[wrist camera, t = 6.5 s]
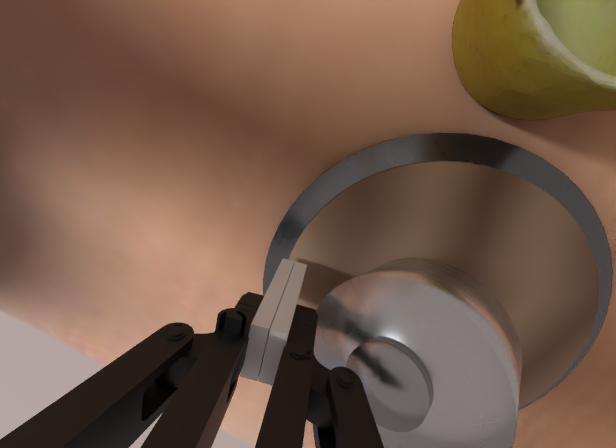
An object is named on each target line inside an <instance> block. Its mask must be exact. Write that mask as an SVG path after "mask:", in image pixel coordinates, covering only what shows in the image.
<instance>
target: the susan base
mask: <svg viewBox="0 0 616 448" xmlns="http://www.w3.org/2000/svg"><path fill="white" fill-rule="evenodd" d="M427 161H460V162H467V163H473V164H478V165H484V166H489V167H493V168H496V169H499V170H502V171H505V172H508V173H511V174H514V175H516V176H518V177H520V178H522V179H524V180H526V181H529V182H531V183H533V184H535V185H536V186H538V187H539V188H541V189H542V190H543V191H545V192H546V193H548V194H549V195H551V196H552V197H554V198H555V199H556V200H557V201H558V202H559V203H560V204H561V205H562V206H563V207H564V208H565V209H566V210H567V211H568V212H569V213H570V214H571V216H572V217H573V218H574V220H575V221H576V222H577V224H578V225H579V226H580V228H581V229H582V231H583V233H584V235H585V236H586V238H587V240H588V242H589V244H590V246H591V249H592V252H593V255H594V259H595V262H596V265H597V271H598V279H599V301H598V308H597V313H596V317H595V322H594V325H593V327H592V330H591V333H590V335H589V338H588V340H587V342H586V344H585V346H584V347H583V349H582V351H581V353H580V354H579V356H578V358H577V359H576V360H575V361H574V363H573V364H572V365H571V367H570V368H569V369H568V371H567V372H566V373H565V374H564V375H563V376H562V377H561V378H560V379H559V380H558V381H557V382H556V383H555V384H554V385H553V386H551V387H550V388H549V389H548V390H546V391H545V392H544V393H542V394H541V395H540V396H539V397H537V398H535V399H534V400H532V401H531V402H529V403H527V404H526V405H524V406H522V407H520V408H518V410H519V409H521V408H523V407H525V406H527V405H529V404H531V403H532V402H534V401H536V400H537V399H539V398H540V397H542V396H544V395H545V394H546V393H548V392H549V391H550V390H552V389H553V388H554V387H555V386H557V385H558V384H559V383H560V382H562V381H563V380H564V379H565V378H566V377H567V376H568V375H569V374H570V373H571V372H572V371H573V370H574V369H575V368H576V366H577V365H578V364H579V363H580V361H581V360H582V359H583V357H584V356H585V355H586V353H587V352H588V351H589V349H590V348H591V346H592V344H593V342H594V341H595V339H596V337H597V335H598V334H599V332H600V329H601V327H602V324H603V321H604V319H605V316H606V314H607V310H608V306H609V301H610V297H611V292H612V274H613V269H612V261H611V252H610V247H609V244H608V240H607V237H606V234H605V230H604V227H603V225H602V223H601V221H600V219H599V217H598V215H597V213H596V211H595V209H594V208H593V206H592V205H591V204H590V202H589V201H588V199H587V198H586V197H585V195H584V194H583V193H582V191H581V190H580V189H579V188H578V187H577V186H576V185H575V184H574V183H573V182H572V181H571V180H570V179H569V178H568V177H567V176H566V175H565V174H564V173H563V172H561V171H560V170H558V169H557V168H556V167H554V166H553V165H551V164H550V163H548V162H547V161H546V160H544V159H543V158H541V157H539V156H537V155H535V154H533V153H531V152H529V151H527V150H525V149H523V148H521V147H518V146H515V145H512V144H509V143H506V142H503V141H500V140H497V139H494V138H488V137H482V136H477V135H471V134H458V133H431V134H420V135H411V136H406V137H402V138H397V139H393V140H388V141H385V142H382V143H379V144H377V145H374V146H371V147H368V148H366V149H363V150H361V151H359V152H357V153H355V154H353V155H351V156H349V157H347V158H345V159H343V160H342V161H340V162H339V163H337V164H336V165H334V166H333V167H332V168H330V169H329V170H327V171H326V172H324V173H323V174H322V175H321V176H319V177H318V178H317V179H316V180H315V181H314V182H313V183H312V184H311V185H309V186H308V187H307V188H306V189H305V191H304V192H303V193H302V194H301V195H300V196H299V198H298V199H297V200H296V201H295V202H294V203H293V205H292V206H291V207H290V209H289V211H288V212H287V214H286V215H285V217H284V218H283V220H282V222H281V223H280V225H279V227H278V229H277V231H276V234H275V236H274V238H273V240H272V242H271V245H270V249H269V252H268V256H267V259H266V264H265V271H264V278H263V296H265V294H266V292H267V290H268V288H269V286H270V284H271V282H272V279H273V277H274V275H275V273H276V271H277V269H278V267H279V265H280V263H281V261H282V259H283V258H284V259H289V257H290V255H291V252H292V250H293V248H294V246H295V244H296V242H297V240H298V238H299V236H300V235H301V233H302V232H303V230H304V229H305V227H306V226H307V224H308V223H309V222H310V220H311V219H312V218H313V217H314V216H315V215H316V214H317V213H318V212H319V210H320V209H321V208H322V207H323V206H324V205H326V204H327V203H328V202H329V201H330V200H331V199H333V198H334V197H335V196H336V195H337V194H339V193H340V192H342V191H344V190H345V189H347V188H348V187H350V186H351V185H353V184H354V183H356V182H358V181H360V180H362V179H364V178H366V177H369V176H371V175H373V174H375V173H378V172H381V171H384V170H387V169H390V168H393V167H396V166H401V165H406V164H411V163H416V162H427Z"/></svg>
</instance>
